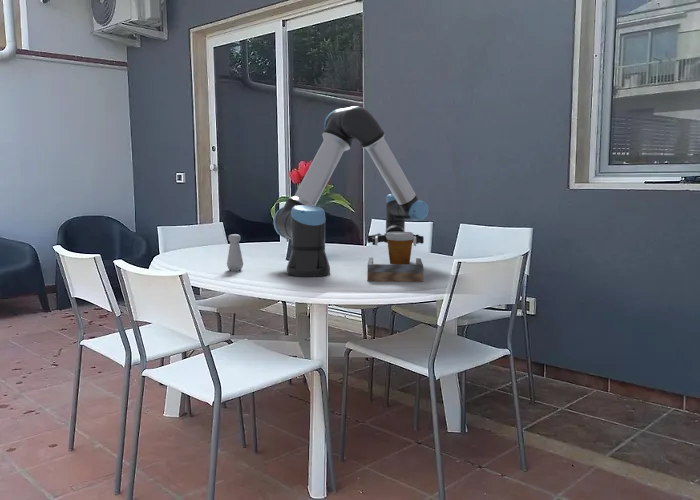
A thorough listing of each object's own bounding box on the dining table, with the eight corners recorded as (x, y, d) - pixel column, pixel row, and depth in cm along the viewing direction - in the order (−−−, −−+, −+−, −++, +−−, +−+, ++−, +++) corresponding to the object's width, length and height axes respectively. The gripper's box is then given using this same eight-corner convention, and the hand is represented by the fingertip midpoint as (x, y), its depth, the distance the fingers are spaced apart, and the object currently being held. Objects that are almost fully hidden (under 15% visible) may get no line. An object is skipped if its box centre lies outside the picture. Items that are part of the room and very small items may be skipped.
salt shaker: (246, 269, 217) (246, 234, 215) (237, 272, 212) (236, 235, 210) (233, 268, 219) (232, 233, 218) (223, 271, 214) (222, 234, 212)
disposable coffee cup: (412, 270, 198) (413, 234, 197) (383, 269, 200) (384, 234, 198) (414, 266, 208) (415, 231, 206) (387, 265, 209) (387, 231, 208)
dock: (367, 281, 196) (367, 264, 195) (368, 273, 212) (368, 257, 211) (422, 282, 195) (423, 265, 194) (420, 273, 211) (420, 258, 210)
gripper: (427, 245, 231) (431, 253, 210) (362, 244, 233) (360, 252, 212) (428, 226, 230) (431, 231, 209) (363, 225, 232) (360, 230, 211)
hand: (395, 241), depth 210 cm, fingers open, 13 cm apart
